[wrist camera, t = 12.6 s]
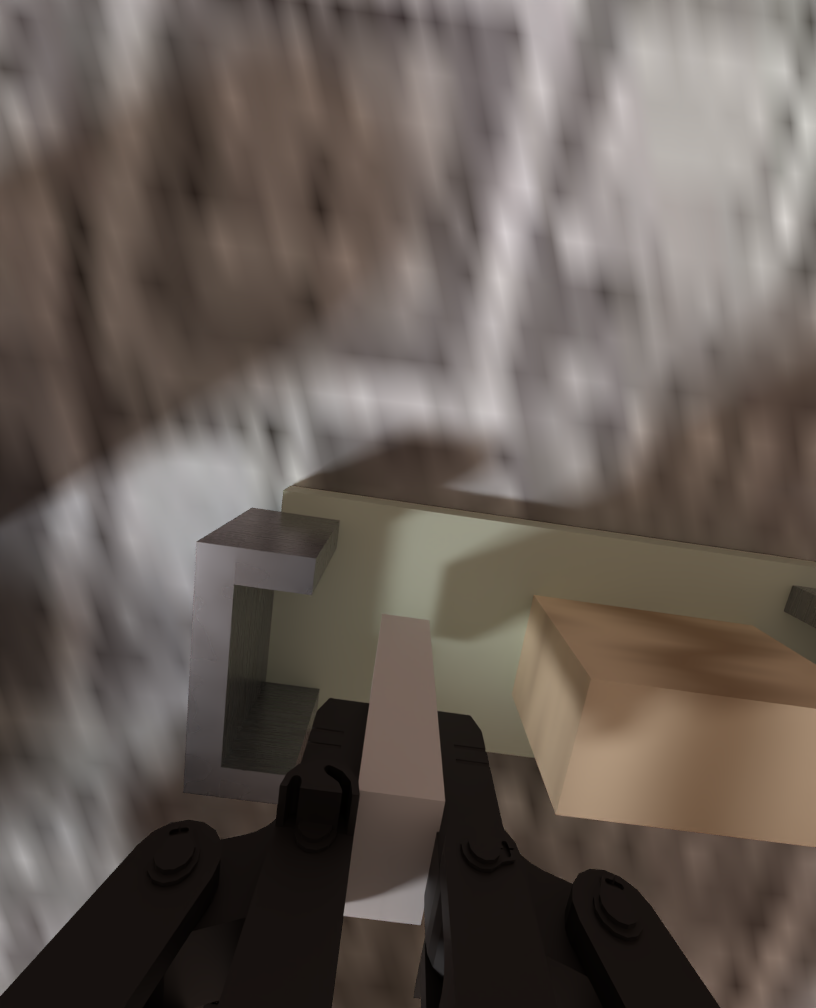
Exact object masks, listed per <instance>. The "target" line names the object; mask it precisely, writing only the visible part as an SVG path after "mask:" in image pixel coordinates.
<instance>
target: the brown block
mask: <svg viewBox="0 0 816 1008" xmlns="http://www.w3.org/2000/svg"><path fill="white" fill-rule="evenodd" d="M512 697H513V699H514V702H515V705H516V708H517V710H518V713H519V716H520V719H521V721H522V724H523V727H524V729H525V732H526V735H527V738H528V740H529V743H530V746H531V749H532V751H533V754H534V757H535V759H536V762H537V765H538V768H539V770H540V773H541V776H542V779H543V781H544V784H545V787H546V790H547V792H548V795H549V798H550V800H551V803H552V806H553V809H554V811H555V814H556V815H561V816H569V817H577V818H585V819H593V820H601V821H609V822H617V823H625V824H633V825H641V826H649V827H657V828H665V829H673V830H681V831H689V832H697V833H705V834H713V835H721V836H729V837H737V838H745V839H753V840H761V841H769V842H777V843H785V844H793V845H801V846H809V847H816V664H814V663H812V662H811V661H809V660H808V659H806V658H804V657H803V656H801V655H800V654H798V653H796V652H795V651H793V650H791V649H790V648H788V647H787V646H785V645H783V644H782V643H780V642H779V641H777V640H775V639H774V638H772V637H771V636H769V635H767V634H766V633H764V632H762V631H761V630H759V629H758V628H756V627H754V626H753V625H746V624H739V623H732V622H725V621H718V620H711V619H703V618H696V617H689V616H682V615H675V614H668V613H660V612H653V611H646V610H639V609H632V608H625V607H617V606H610V605H603V604H596V603H589V602H582V601H574V600H567V599H560V598H553V597H546V596H539V595H534V596H533V600H532V605H531V609H530V614H529V618H528V623H527V628H526V632H525V637H524V641H523V646H522V650H521V655H520V659H519V664H518V668H517V673H516V678H515V682H514V687H513V691H512Z"/></svg>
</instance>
